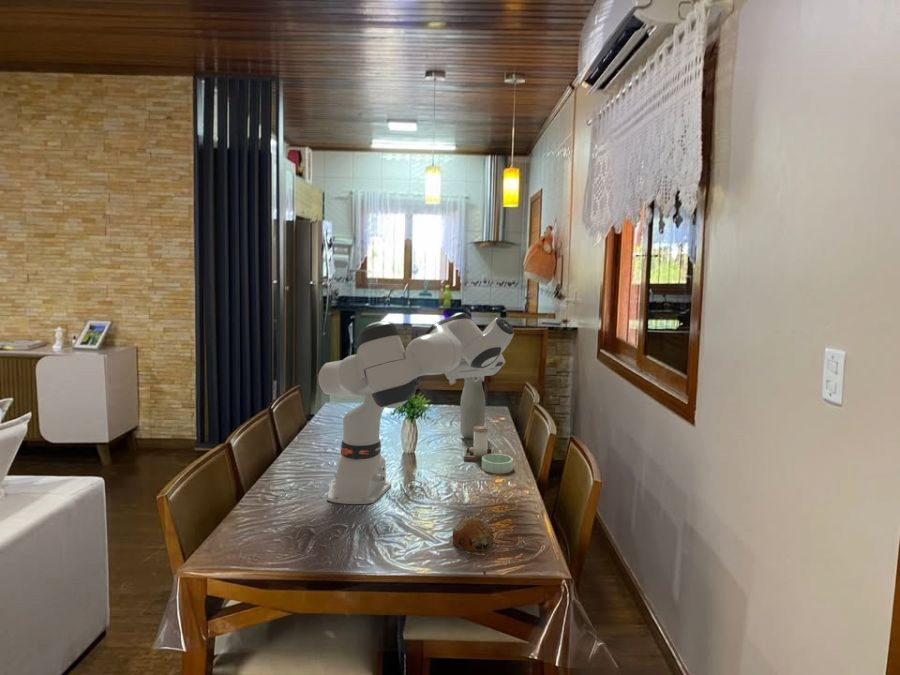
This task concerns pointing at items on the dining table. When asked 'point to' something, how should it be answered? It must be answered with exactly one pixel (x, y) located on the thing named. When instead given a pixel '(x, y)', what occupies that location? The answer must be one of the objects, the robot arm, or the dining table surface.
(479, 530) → the bread roll
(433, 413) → the dining table surface
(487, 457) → the bowl
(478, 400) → the grey bottle
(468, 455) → the pebble tray
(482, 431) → the jar
